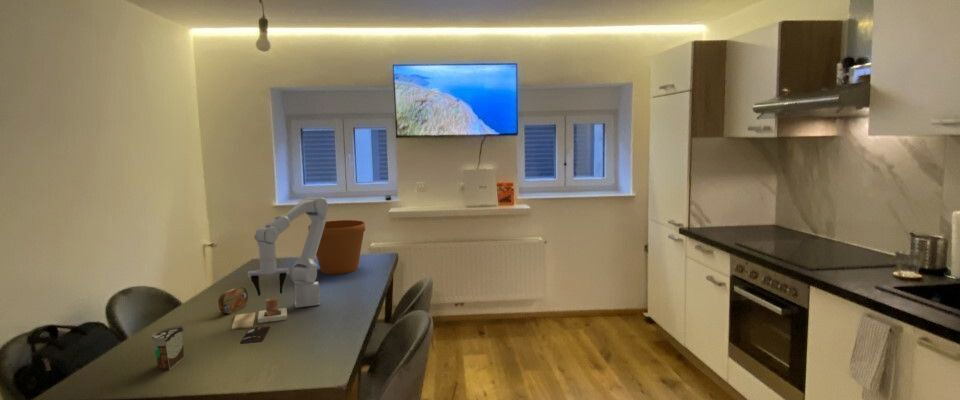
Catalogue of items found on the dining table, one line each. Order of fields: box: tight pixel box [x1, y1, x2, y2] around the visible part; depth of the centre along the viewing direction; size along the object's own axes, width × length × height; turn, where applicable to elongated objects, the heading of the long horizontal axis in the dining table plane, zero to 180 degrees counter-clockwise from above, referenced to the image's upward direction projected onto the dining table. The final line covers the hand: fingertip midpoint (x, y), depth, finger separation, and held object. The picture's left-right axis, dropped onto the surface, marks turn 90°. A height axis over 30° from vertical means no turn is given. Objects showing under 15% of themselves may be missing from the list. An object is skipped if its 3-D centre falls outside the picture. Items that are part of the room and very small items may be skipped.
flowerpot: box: [307, 219, 366, 275], centre depth 276 cm, size 28×28×24 cm
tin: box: [217, 286, 249, 315], centre depth 213 cm, size 15×3×8 cm, turn 168°
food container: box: [150, 324, 185, 371], centre depth 162 cm, size 12×6×10 cm, turn 5°
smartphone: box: [239, 325, 271, 345], centre depth 185 cm, size 7×1×15 cm
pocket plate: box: [257, 307, 288, 324], centre depth 204 cm, size 10×10×2 cm
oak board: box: [230, 312, 257, 331], centre depth 199 cm, size 7×16×1 cm, turn 19°
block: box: [265, 297, 280, 316], centre depth 203 cm, size 4×4×7 cm
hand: (270, 293), depth 204 cm, fingers open, 7 cm apart
